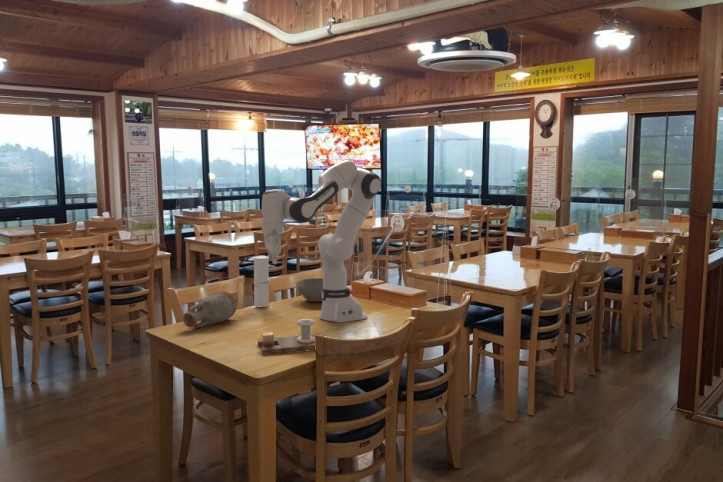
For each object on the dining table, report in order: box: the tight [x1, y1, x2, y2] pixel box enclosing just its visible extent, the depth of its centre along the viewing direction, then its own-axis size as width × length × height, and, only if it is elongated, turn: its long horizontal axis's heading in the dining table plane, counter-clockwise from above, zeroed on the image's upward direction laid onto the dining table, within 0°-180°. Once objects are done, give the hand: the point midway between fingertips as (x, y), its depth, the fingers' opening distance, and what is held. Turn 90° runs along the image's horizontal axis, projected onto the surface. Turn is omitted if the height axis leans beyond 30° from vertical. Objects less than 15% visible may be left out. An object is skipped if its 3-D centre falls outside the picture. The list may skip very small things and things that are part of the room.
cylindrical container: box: [253, 255, 270, 308], centre depth 290 cm, size 7×7×25 cm
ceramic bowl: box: [295, 277, 323, 303], centre depth 304 cm, size 22×23×10 cm
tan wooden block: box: [261, 331, 275, 347], centre depth 225 cm, size 4×4×6 cm
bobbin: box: [296, 318, 316, 343], centre depth 229 cm, size 7×7×8 cm
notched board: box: [257, 334, 316, 356], centre depth 228 cm, size 24×14×2 cm, turn 108°
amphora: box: [182, 290, 239, 329], centre depth 259 cm, size 14×16×30 cm
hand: (272, 261), depth 239 cm, fingers open, 8 cm apart
